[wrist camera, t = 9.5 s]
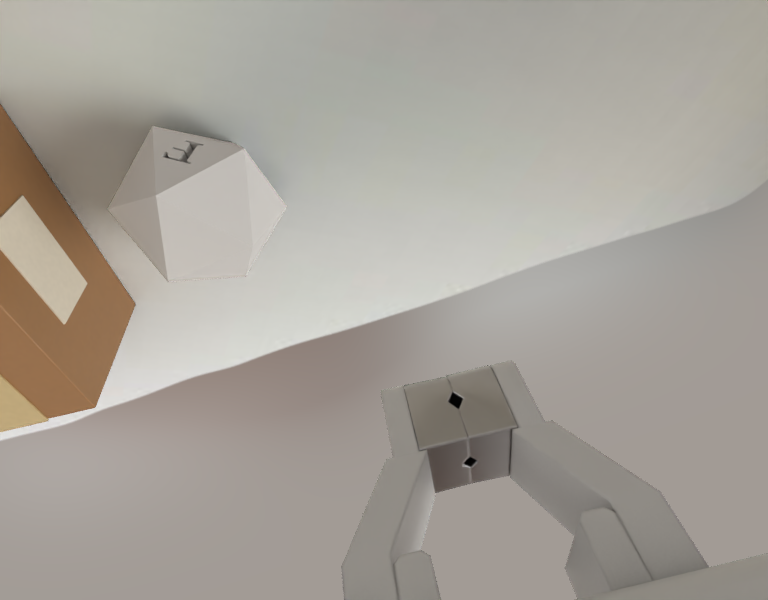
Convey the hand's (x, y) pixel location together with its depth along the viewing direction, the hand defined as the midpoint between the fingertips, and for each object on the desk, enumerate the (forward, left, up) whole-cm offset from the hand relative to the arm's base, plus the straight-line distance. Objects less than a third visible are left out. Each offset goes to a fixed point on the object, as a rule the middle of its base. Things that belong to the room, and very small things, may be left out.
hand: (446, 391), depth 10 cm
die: (+10, +4, -24) cm, 26 cm away
